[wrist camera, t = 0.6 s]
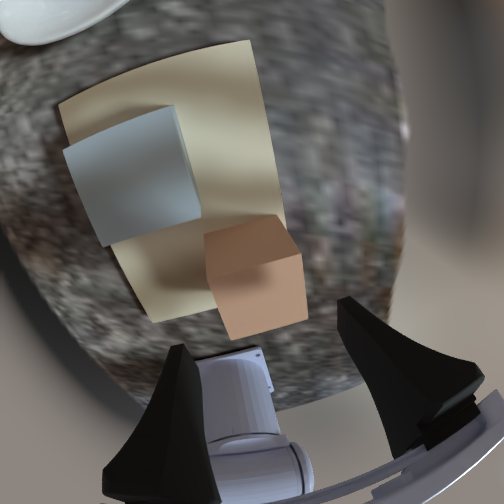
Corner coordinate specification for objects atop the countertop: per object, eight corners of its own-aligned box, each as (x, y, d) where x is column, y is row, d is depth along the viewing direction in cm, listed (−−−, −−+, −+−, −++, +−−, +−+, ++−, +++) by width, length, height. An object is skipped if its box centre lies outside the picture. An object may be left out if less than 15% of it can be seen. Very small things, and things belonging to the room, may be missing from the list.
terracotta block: (286, 273, 21) (308, 318, 17) (223, 290, 21) (230, 340, 17) (277, 214, 19) (301, 253, 14) (203, 234, 18) (206, 279, 14)
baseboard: (291, 278, 23) (307, 311, 20) (153, 314, 22) (149, 350, 19) (246, 43, 13) (260, 27, 10) (65, 103, 13) (34, 108, 9)
